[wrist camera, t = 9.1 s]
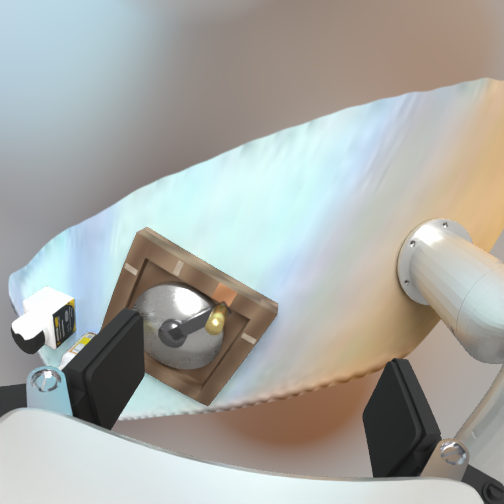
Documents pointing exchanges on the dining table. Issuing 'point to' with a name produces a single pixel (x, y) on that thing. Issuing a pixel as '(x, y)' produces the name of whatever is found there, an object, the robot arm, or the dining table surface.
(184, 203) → the dining table surface
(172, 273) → the housing
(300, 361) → the dining table surface
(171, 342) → the dial
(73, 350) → the supplement bottle
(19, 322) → the medicine bottle
